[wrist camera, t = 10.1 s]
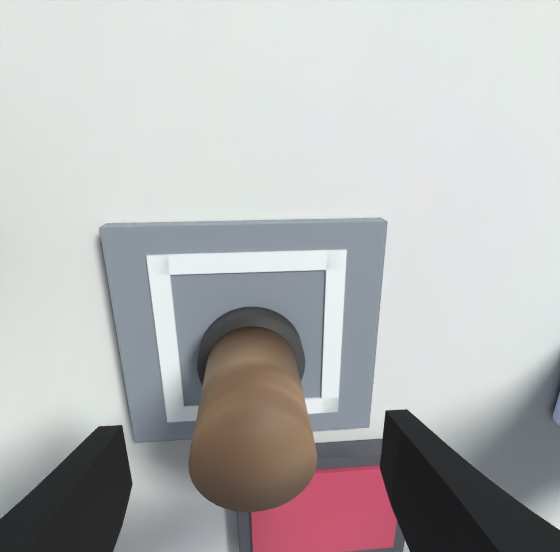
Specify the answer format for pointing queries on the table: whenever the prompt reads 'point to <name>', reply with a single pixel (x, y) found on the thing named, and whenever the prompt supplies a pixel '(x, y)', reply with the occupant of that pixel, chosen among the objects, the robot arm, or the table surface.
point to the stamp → (251, 413)
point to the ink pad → (330, 508)
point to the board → (244, 293)
